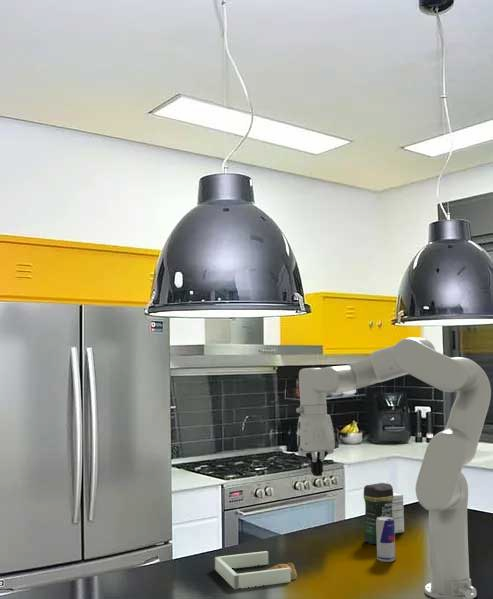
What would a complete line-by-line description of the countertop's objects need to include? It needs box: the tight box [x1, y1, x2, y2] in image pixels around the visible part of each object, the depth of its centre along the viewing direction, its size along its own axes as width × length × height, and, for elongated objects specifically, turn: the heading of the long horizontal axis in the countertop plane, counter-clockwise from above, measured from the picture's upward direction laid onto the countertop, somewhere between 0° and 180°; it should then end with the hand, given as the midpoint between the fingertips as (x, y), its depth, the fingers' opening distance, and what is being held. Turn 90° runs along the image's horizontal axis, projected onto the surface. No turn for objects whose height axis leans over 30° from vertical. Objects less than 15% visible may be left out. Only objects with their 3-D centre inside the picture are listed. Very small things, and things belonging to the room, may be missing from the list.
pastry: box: [266, 562, 298, 581], centre depth 194 cm, size 9×7×4 cm
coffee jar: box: [363, 482, 394, 545], centre depth 229 cm, size 10×8×19 cm
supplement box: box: [392, 491, 405, 534], centre depth 243 cm, size 7×7×13 cm
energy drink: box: [376, 516, 397, 563], centre depth 210 cm, size 5×5×12 cm
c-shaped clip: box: [214, 550, 292, 590], centre depth 197 cm, size 18×16×4 cm
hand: (317, 475), depth 202 cm, fingers closed
